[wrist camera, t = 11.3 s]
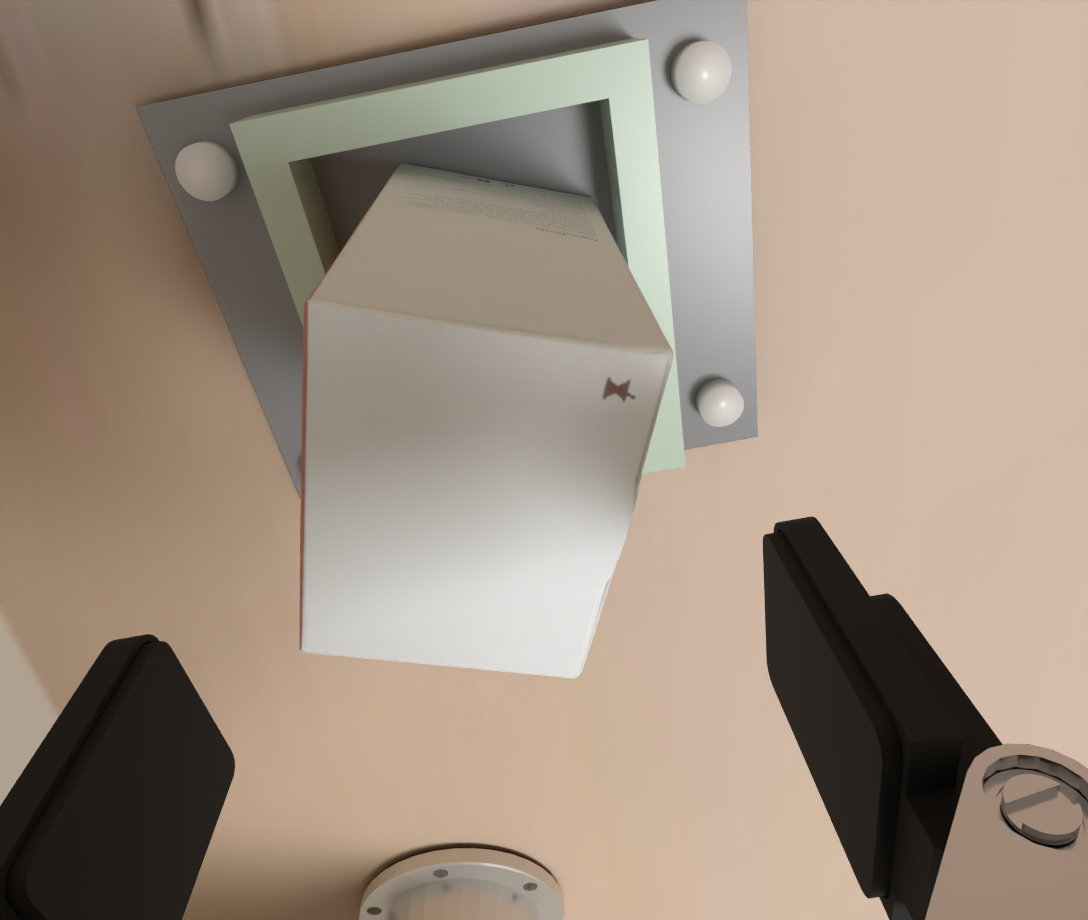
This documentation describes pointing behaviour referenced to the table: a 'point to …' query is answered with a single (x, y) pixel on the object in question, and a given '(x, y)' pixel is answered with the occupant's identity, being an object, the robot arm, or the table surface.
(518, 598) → the small box
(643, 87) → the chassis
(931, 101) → the table surface
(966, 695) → the robot arm
